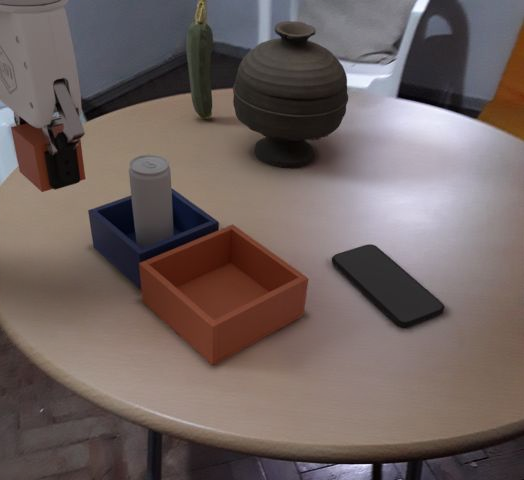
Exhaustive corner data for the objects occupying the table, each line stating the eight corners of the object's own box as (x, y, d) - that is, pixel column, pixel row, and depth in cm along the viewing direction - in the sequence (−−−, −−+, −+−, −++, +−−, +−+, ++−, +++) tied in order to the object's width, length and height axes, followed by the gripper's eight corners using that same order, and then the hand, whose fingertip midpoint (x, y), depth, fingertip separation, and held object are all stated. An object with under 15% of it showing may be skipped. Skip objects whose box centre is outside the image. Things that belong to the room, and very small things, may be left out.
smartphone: (402, 325, 73) (328, 255, 82) (400, 331, 74) (327, 261, 82) (449, 307, 76) (372, 241, 85) (447, 313, 77) (371, 247, 85)
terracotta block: (41, 192, 64) (33, 146, 61) (19, 172, 67) (10, 126, 64) (85, 179, 67) (80, 134, 64) (62, 160, 70) (56, 116, 66)
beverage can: (156, 265, 79) (149, 178, 71) (128, 250, 81) (119, 164, 73) (182, 248, 82) (178, 163, 74) (155, 234, 84) (149, 150, 75)
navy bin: (143, 292, 76) (139, 254, 72) (93, 247, 82) (87, 210, 78) (218, 258, 82) (219, 221, 78) (167, 219, 88) (165, 183, 84)
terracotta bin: (212, 365, 68) (212, 327, 64) (142, 301, 75) (138, 262, 71) (303, 315, 74) (308, 278, 71) (231, 261, 81) (232, 224, 78)
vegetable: (203, 127, 109) (202, 0, 95) (183, 121, 111) (179, -5, 97) (217, 119, 112) (218, -6, 98) (197, 112, 114) (195, -11, 100)
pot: (333, 186, 96) (340, 45, 82) (221, 174, 100) (212, 38, 86) (352, 140, 109) (362, 12, 95) (253, 131, 112) (249, 7, 99)
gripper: (-63, -39, 57) (-17, 150, 69) (25, 16, 48) (59, 220, 61) (17, -46, 61) (46, 134, 73) (111, 3, 52) (126, 198, 64)
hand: (51, 171), depth 67 cm, fingers closed on terracotta block, 5 cm apart
